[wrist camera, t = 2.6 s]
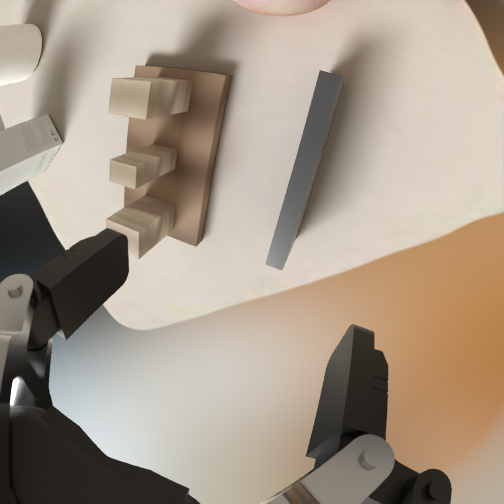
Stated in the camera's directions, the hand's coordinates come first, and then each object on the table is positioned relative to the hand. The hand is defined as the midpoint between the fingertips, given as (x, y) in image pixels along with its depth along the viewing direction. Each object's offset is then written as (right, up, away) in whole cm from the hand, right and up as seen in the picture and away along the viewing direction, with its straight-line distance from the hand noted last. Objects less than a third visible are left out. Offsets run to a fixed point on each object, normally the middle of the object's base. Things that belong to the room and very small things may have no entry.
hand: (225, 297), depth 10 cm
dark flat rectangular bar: (+6, +10, +16) cm, 20 cm away
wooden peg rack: (-7, +12, +20) cm, 24 cm away
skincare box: (-29, +17, +25) cm, 42 cm away
